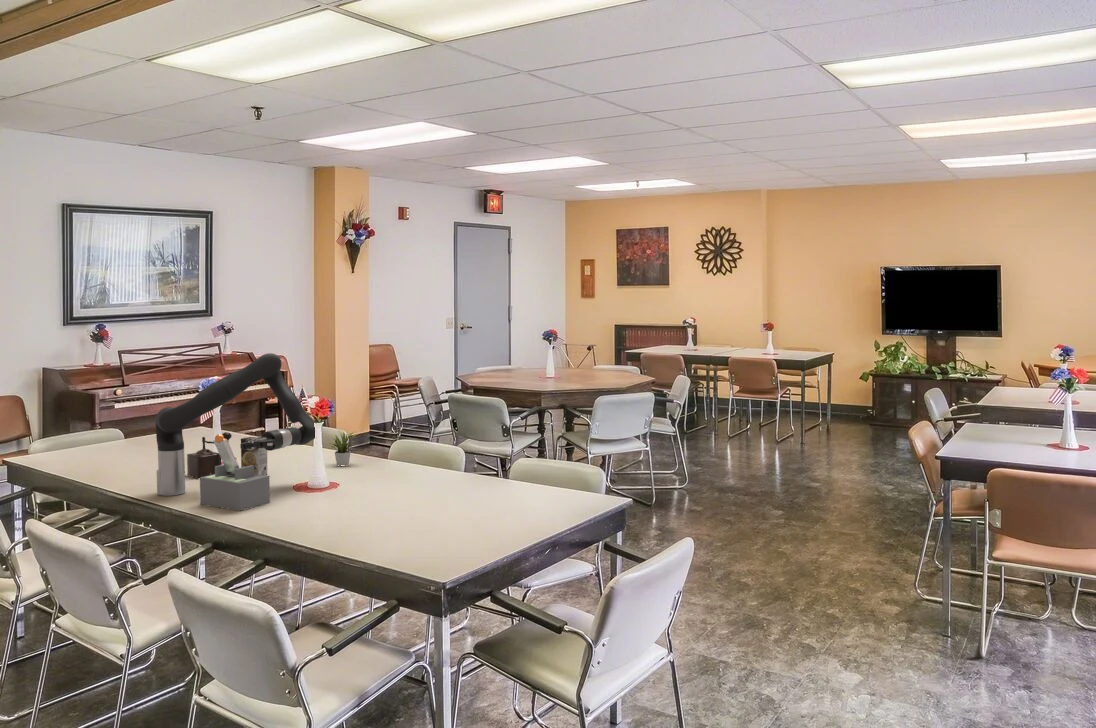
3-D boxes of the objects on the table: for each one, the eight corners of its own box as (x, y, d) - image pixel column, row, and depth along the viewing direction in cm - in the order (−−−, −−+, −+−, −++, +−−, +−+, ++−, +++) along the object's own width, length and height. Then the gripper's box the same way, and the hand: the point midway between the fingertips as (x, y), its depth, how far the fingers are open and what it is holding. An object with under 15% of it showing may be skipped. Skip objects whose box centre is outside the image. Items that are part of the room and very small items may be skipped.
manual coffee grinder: (199, 479, 337) (198, 436, 336) (186, 475, 344) (185, 433, 343) (234, 473, 349) (233, 432, 348) (221, 469, 356) (220, 429, 355)
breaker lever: (238, 478, 295) (220, 438, 286) (226, 476, 297) (208, 436, 289) (244, 473, 297) (227, 433, 289) (233, 471, 300) (215, 431, 292)
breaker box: (240, 511, 287) (239, 472, 286) (200, 504, 296) (199, 466, 295) (269, 502, 299) (269, 465, 298) (231, 496, 308) (230, 460, 307)
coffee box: (240, 476, 344) (239, 438, 343) (250, 473, 350) (249, 436, 349) (258, 477, 341) (257, 439, 340) (268, 474, 347) (267, 437, 346)
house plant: (366, 462, 374) (365, 427, 373) (356, 468, 360) (355, 432, 359) (336, 461, 375) (335, 426, 374) (325, 467, 362) (324, 431, 360)
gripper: (264, 428, 317) (228, 435, 302) (289, 431, 311) (254, 437, 296) (264, 447, 318) (229, 455, 302) (290, 450, 312) (255, 458, 296)
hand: (241, 446), depth 299 cm, fingers closed
